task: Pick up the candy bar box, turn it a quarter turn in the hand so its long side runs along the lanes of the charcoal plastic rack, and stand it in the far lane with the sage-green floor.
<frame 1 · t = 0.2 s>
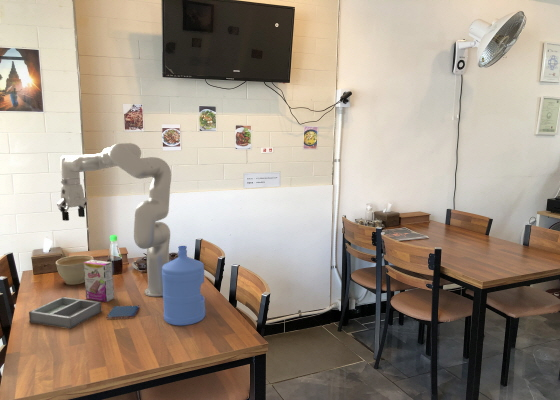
hand: (73, 218, 199), 31 cm above the table, tool pointing down, fingers open, 9 cm apart
candy bar box: (100, 299, 182), on the table
planter bowl: (76, 282, 204), on the table
water jug: (184, 318, 163), on the table
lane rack: (66, 316, 164), on the table
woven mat: (123, 315, 167), on the table
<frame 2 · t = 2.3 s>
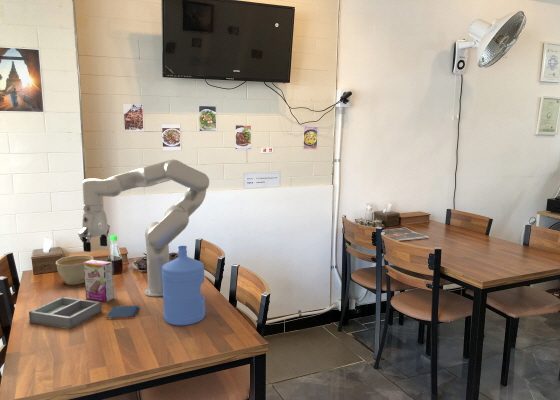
hand: (95, 248, 179), 22 cm above the table, tool pointing down, fingers open, 9 cm apart
nothing on the table moved.
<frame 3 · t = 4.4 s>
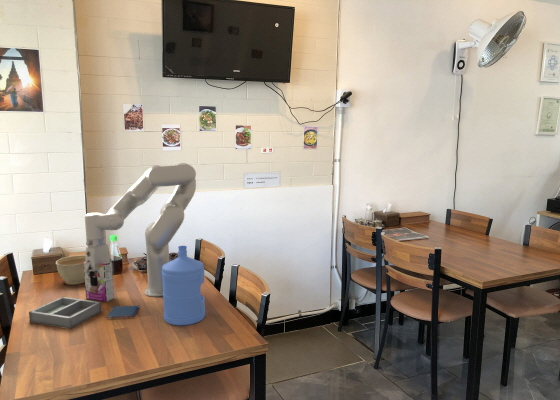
hand: (99, 283, 181), 7 cm above the table, tool pointing down, fingers closed on candy bar box, 5 cm apart
candy bar box: (100, 299, 182), on the table, touching gripper
everything else where it was.
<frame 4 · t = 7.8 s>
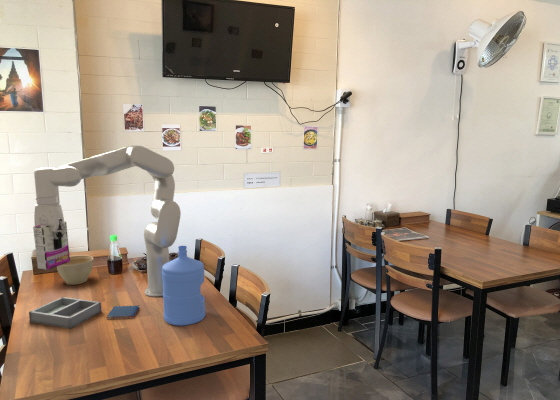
hand: (52, 247, 162), 27 cm above the table, tool pointing down, fingers closed on candy bar box, 5 cm apart
candy bar box: (53, 266, 163), point 20 cm above the table, touching gripper
everything else where it was.
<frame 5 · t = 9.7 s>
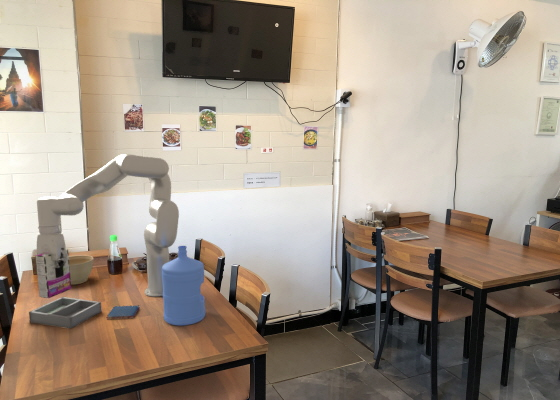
hand: (53, 275, 163), 16 cm above the table, tool pointing down, fingers closed on candy bar box, 5 cm apart
candy bar box: (55, 293, 164), point 9 cm above the table, touching gripper
everything else where it was.
when the fingers open (9 cm above the table, at t = 11.4 s): candy bar box drops 1 cm, resting on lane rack.
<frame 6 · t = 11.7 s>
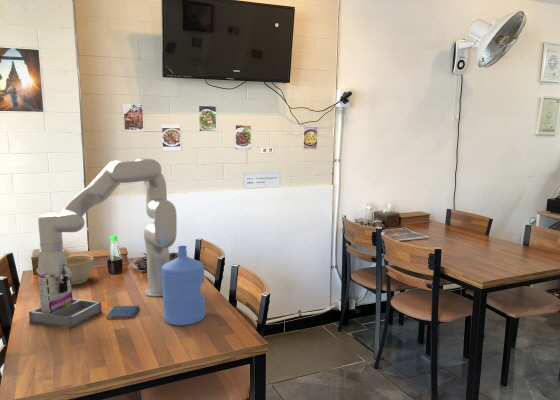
hand: (55, 290, 164), 10 cm above the table, tool pointing down, fingers open, 7 cm apart
candy bar box: (57, 313, 166), point 1 cm above the table, touching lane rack
everything else where it was.
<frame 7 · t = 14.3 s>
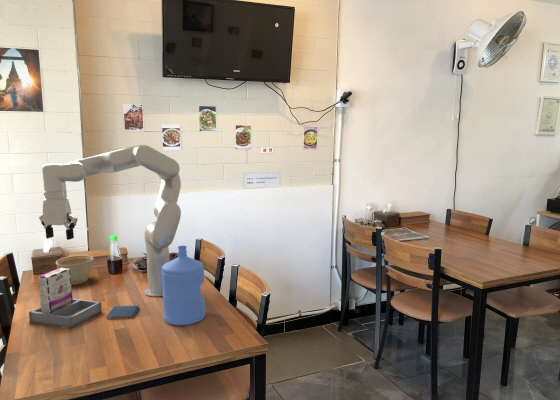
hand: (60, 238, 168), 29 cm above the table, tool pointing down, fingers open, 9 cm apart
nothing on the table moved.
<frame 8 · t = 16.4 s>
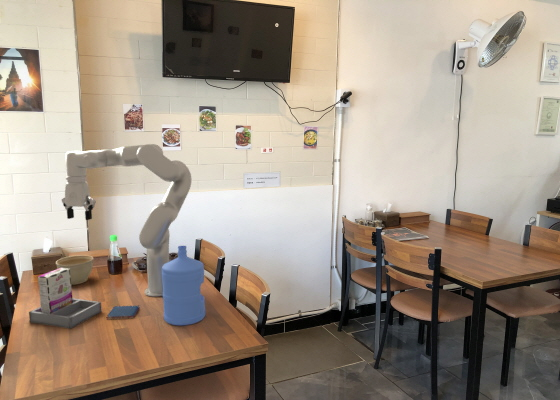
hand: (79, 218, 186), 33 cm above the table, tool pointing down, fingers open, 9 cm apart
nothing on the table moved.
at the end: candy bar box 0.2 cm from the target spot on the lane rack, point 0.8 cm above the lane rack's base; candy bar box tilted 0°; the gripper is holding nothing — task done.
